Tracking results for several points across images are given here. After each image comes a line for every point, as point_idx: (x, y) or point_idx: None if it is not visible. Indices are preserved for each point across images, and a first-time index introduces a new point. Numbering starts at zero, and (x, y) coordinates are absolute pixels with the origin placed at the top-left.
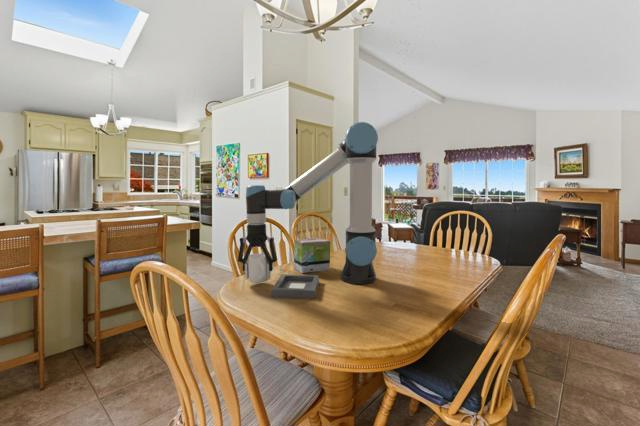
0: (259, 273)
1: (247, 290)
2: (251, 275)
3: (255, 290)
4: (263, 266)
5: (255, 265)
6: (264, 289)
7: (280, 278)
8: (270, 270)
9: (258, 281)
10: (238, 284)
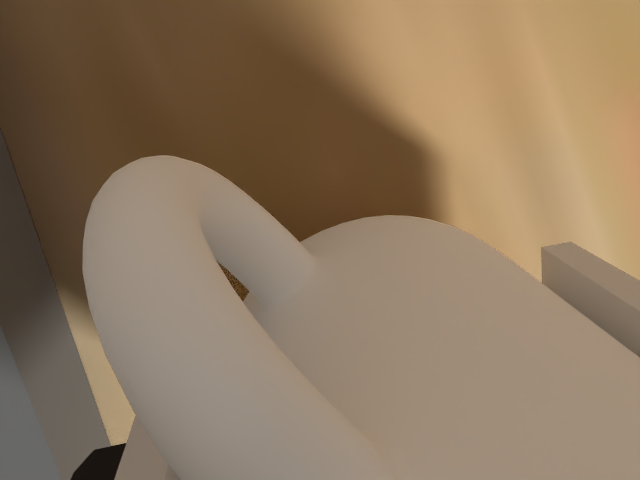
0: (324, 290)
1: (425, 43)
2: (488, 255)
3: (309, 75)
4: (100, 263)
5: (478, 363)
6: (199, 154)
7: (13, 430)
8: (114, 456)
9: (327, 229)
10: (633, 251)
